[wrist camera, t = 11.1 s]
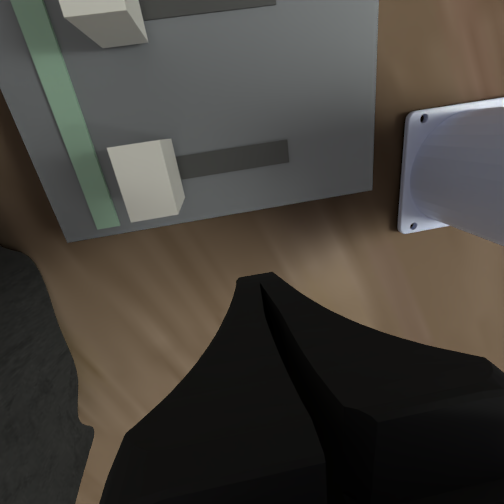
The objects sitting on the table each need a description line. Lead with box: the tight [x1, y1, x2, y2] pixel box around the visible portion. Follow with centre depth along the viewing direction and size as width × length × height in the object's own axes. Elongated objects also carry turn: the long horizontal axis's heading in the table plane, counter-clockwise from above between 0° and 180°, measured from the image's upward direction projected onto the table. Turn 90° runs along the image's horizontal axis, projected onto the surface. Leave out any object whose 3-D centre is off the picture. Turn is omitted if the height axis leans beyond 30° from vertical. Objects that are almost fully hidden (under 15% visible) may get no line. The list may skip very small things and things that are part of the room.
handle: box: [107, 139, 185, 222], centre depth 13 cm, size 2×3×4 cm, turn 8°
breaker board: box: [0, 0, 379, 243], centre depth 13 cm, size 18×20×2 cm
